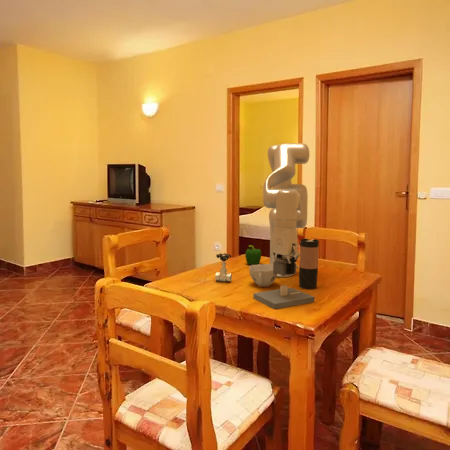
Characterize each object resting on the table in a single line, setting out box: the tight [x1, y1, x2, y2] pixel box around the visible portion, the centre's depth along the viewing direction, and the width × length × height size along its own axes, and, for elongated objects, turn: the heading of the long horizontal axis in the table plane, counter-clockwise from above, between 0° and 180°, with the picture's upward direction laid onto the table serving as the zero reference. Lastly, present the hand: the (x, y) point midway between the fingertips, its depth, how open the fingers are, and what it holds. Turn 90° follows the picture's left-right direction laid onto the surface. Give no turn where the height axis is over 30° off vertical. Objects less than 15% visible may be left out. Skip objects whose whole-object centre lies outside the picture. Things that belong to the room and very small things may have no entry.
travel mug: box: [298, 238, 320, 290], centre depth 172 cm, size 8×8×20 cm
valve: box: [215, 252, 232, 283], centre depth 179 cm, size 7×7×12 cm
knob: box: [273, 257, 297, 276], centre depth 153 cm, size 7×7×6 cm
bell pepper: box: [244, 244, 262, 266], centre depth 213 cm, size 8×8×10 cm
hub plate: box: [253, 284, 315, 310], centre depth 154 cm, size 18×14×6 cm
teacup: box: [248, 263, 278, 288], centre depth 174 cm, size 15×12×8 cm
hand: (284, 271), depth 153 cm, fingers closed on knob, 6 cm apart
